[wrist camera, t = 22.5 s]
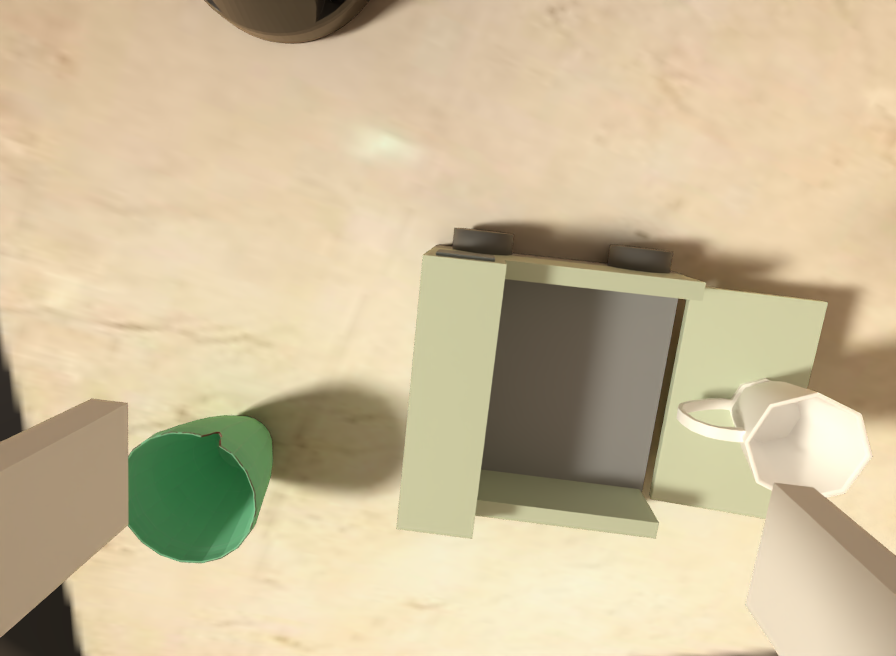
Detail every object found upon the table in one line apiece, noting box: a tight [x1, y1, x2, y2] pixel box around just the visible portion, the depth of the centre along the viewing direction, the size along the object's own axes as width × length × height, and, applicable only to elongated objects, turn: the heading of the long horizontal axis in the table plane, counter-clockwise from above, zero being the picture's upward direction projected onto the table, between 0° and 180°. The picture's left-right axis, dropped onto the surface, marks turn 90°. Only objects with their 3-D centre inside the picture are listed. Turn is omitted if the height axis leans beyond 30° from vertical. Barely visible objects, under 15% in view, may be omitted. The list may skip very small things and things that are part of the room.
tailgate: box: [649, 287, 828, 519], centre depth 43 cm, size 17×1×9 cm
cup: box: [677, 378, 873, 498], centre depth 38 cm, size 7×10×8 cm
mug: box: [128, 415, 273, 563], centre depth 45 cm, size 15×10×10 cm
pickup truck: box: [396, 228, 706, 539], centre depth 41 cm, size 21×18×11 cm
